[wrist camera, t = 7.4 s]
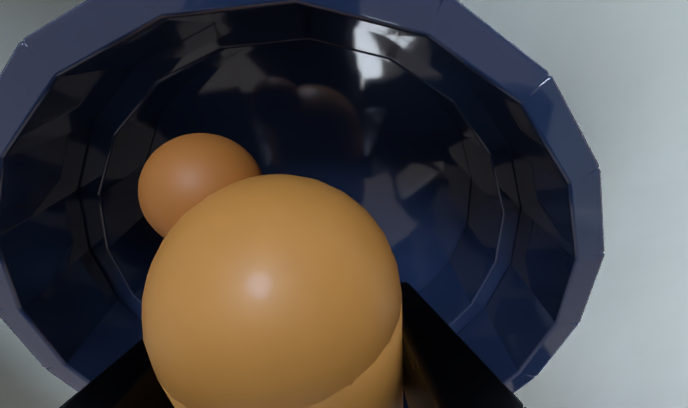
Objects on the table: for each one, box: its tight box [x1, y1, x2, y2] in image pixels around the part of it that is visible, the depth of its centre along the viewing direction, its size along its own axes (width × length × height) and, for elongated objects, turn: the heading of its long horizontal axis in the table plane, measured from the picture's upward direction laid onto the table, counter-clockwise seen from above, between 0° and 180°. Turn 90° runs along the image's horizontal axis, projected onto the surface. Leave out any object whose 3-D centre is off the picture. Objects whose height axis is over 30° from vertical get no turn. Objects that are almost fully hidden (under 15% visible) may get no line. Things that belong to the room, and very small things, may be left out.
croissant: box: [138, 133, 403, 408], centre depth 7 cm, size 5×9×4 cm, turn 5°
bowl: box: [0, 0, 604, 408], centre depth 9 cm, size 13×13×5 cm
